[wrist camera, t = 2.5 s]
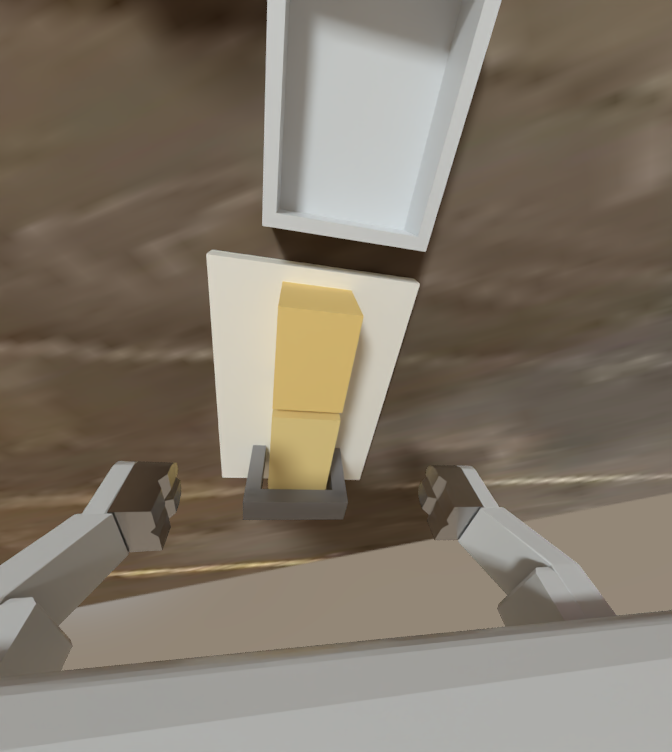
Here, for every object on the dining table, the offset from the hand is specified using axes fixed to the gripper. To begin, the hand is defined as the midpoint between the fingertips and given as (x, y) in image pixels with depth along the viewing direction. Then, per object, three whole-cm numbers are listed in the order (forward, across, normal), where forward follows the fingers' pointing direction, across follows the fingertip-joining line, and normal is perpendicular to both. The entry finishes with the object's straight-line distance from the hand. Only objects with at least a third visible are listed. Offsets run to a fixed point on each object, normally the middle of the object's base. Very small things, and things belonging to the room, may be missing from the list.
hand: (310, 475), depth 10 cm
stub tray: (+12, -2, -11) cm, 16 cm away
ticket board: (+12, -1, +5) cm, 13 cm away
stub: (+11, 0, 0) cm, 11 cm away
